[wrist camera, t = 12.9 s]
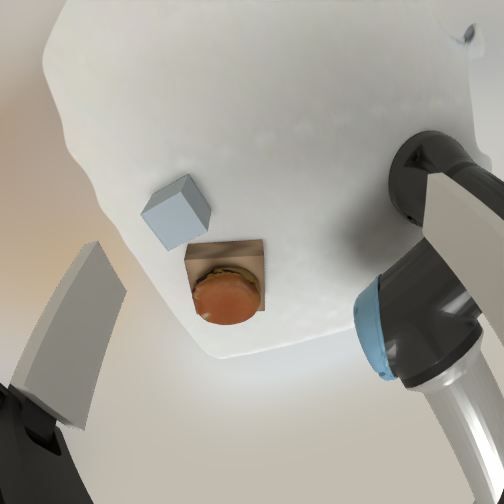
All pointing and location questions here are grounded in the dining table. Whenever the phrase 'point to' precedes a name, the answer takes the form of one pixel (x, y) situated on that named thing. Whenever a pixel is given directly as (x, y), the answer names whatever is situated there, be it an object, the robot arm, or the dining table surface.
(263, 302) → the walnut block
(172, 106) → the dining table surface
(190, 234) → the slate cube
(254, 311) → the burger
